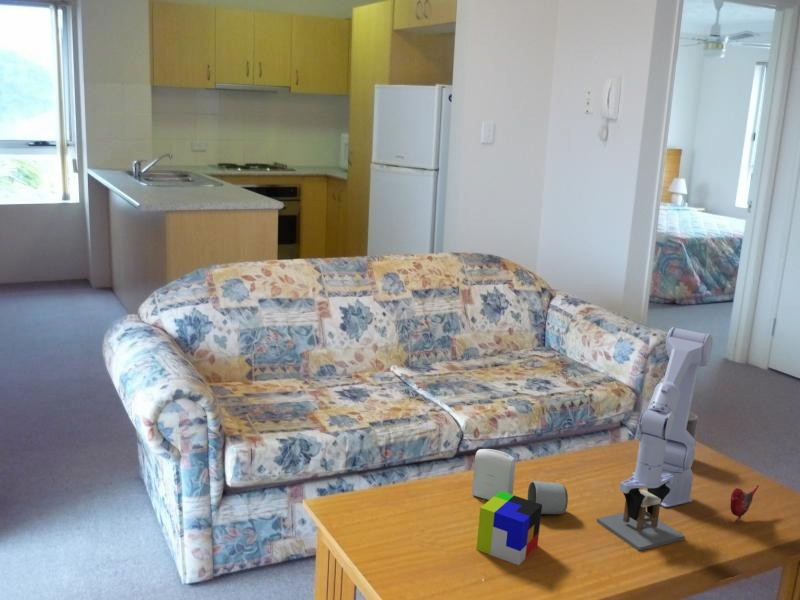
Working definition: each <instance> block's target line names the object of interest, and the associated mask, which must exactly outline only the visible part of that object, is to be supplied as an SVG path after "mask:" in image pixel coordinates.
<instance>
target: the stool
mask: <svg viewBox="0 0 800 600" xmlns="http://www.w3.org/2000/svg"><path fill="white" fill-rule="evenodd" d="M639 491H640V493H641V494H643V495H644V496H645V498H644V499H643V501H642V503H641V506H640V510H639V514H638V518H637V520H635V521H637V530H639V531H642V530H643V526H644V523H646V522H651V527H653V528H656V527H657V524H658V519H659V515H660V508H661V505H660V502H661V499H660V498H658V497H657V496H655V495H653V494H651V493H649V492H647V491H648V490H646V489H639ZM652 505H654V506H653V513H652V515H651V514H650V513H648V512H647V506H652ZM623 513H624V517H623V521H624V522H626V523H627V522H629V520H630V517H629V516H628V508H627V502H626V501H625V503H624V510H623ZM645 515H646V516H648V517H650V518H646V519H644V518H645Z"/></svg>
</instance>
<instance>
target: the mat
mask: <svg viewBox="0 0 800 600" xmlns="http://www.w3.org/2000/svg"><path fill="white" fill-rule="evenodd" d="M623 517H624V512H620V513H616V514H611V515H607V516H606V515H605V516H603V517H597V518H596V523H598V524H599V525H601V526H602V527H603V528H605V529H607V530H608V531H610V532H611V533H612V534H614V535H615V536H616V537H619V539H621V540H623V541H624V542H626V543H627V544H628V545H630V546H631V547H632V548H634V549H636V550H637V551H638V552H640V551H643V550H648V549H651V548H655V547H659V546H663V545H667V544H671V543H675V542H679V541H683V540H685V538H686V535H684V534H683V533H681V532H679V531H678V530H676V529H675V528H673V527H671V526H670V525H668V524H667V523H665V522H664V521H663V520H661V519H660V518H658V524H657V527H656V528H653V527H651V522H646V523H644V526H643V530H642V531H639V530H637V521H635V520H633V519H632V518H630V520H629V522H627V523H626V522H624V521H623ZM646 518H650V517H648V516H646V515H645V518H644V519H646Z"/></svg>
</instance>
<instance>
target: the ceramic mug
mask: <svg viewBox="0 0 800 600" xmlns="http://www.w3.org/2000/svg"><path fill="white" fill-rule="evenodd" d="M568 498H569V495H568V490H567V488H566V486H565V485H564V484H561V483H557V482H550V481H548V482H547V481H540V480H532V481H530V483H529V485H528V489H527V500H530V501H533V502H536V503H539V504H542V511H541V515H561V514H564V513H565V512H566V510H567V508H568V502H569V499H568Z"/></svg>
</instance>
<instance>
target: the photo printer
mask: <svg viewBox="0 0 800 600" xmlns="http://www.w3.org/2000/svg"><path fill="white" fill-rule="evenodd" d="M515 470H516V458H515V457H513V456H511V455H510V454H509V453H506V452H503V451H501V450H497V449H491V448H482V449H481V448H480V449H478V450H477V451H476V453H475V456H474V466H473V473H472V474H473V475H472V486H471V487H472V488H471V495H472V496H474V497H477V498H481V499H484V500H488V501H489V500H490V499H491V498H493V497H494V496H495V495H496V494H498V493H499V492H500V491H502V492H505V493H508V494H511V495H514V482H515V472H516V471H515Z"/></svg>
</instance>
